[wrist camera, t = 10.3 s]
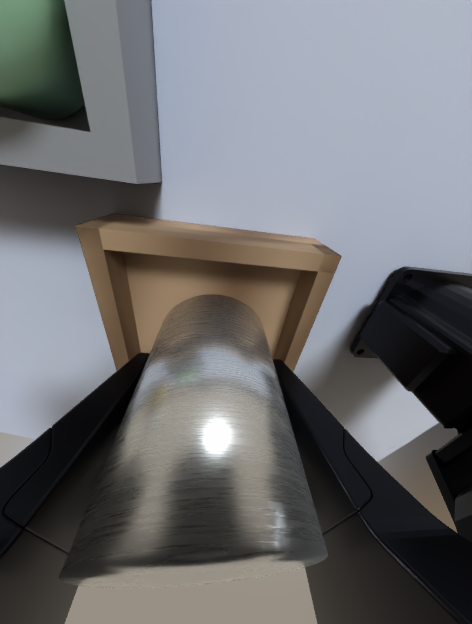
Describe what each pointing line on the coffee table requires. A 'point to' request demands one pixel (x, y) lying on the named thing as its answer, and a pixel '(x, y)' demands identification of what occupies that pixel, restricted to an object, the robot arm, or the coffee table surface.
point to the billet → (200, 465)
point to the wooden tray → (202, 278)
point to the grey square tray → (98, 102)
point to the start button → (38, 59)
